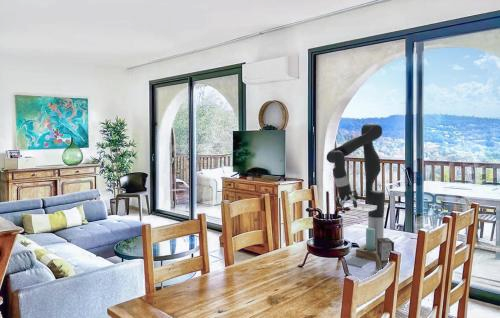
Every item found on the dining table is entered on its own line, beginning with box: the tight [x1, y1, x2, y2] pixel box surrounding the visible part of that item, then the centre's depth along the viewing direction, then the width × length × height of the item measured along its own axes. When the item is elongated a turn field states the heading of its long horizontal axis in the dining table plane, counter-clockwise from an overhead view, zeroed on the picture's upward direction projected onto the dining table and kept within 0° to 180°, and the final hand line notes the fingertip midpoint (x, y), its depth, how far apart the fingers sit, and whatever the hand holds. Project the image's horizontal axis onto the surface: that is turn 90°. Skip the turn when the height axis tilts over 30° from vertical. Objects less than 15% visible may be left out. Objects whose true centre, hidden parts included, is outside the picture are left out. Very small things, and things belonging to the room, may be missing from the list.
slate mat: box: [346, 256, 372, 268], centre depth 212 cm, size 11×11×1 cm
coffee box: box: [375, 237, 395, 272], centre depth 198 cm, size 9×6×16 cm
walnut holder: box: [350, 244, 376, 263], centre depth 223 cm, size 16×16×4 cm
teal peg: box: [365, 227, 376, 252], centre depth 223 cm, size 5×5×15 cm
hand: (349, 210), depth 231 cm, fingers open, 8 cm apart
